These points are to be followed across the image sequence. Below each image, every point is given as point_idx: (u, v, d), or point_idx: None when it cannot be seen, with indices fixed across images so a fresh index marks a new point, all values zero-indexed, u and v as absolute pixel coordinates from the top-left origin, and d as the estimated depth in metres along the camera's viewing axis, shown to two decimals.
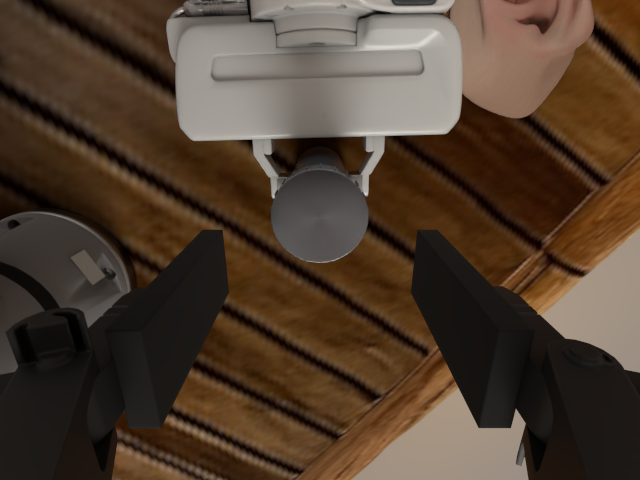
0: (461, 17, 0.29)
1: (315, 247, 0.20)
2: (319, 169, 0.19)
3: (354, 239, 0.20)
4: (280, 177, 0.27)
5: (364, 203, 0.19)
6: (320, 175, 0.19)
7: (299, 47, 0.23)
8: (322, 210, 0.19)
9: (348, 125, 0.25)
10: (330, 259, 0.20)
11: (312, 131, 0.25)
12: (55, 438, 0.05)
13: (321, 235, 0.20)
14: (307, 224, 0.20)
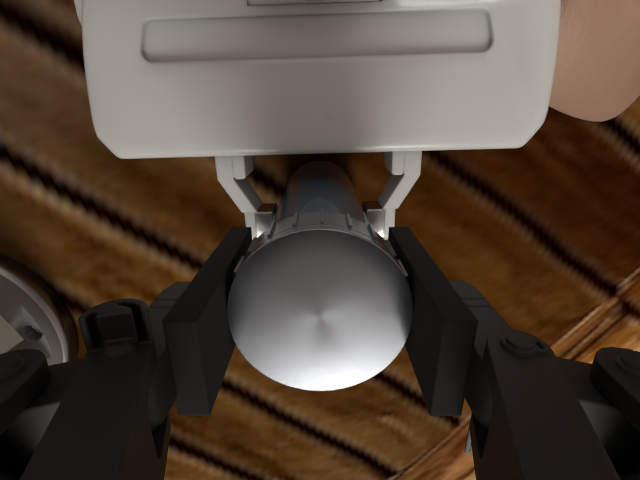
0: None
1: (312, 366, 0.11)
2: (320, 229, 0.09)
3: (385, 353, 0.11)
4: (260, 213, 0.18)
5: (407, 292, 0.10)
6: (322, 241, 0.09)
7: (286, 5, 0.14)
8: (325, 304, 0.10)
9: (366, 134, 0.15)
10: (340, 386, 0.11)
11: (308, 144, 0.16)
12: (122, 424, 0.05)
13: (323, 347, 0.10)
14: (297, 328, 0.10)
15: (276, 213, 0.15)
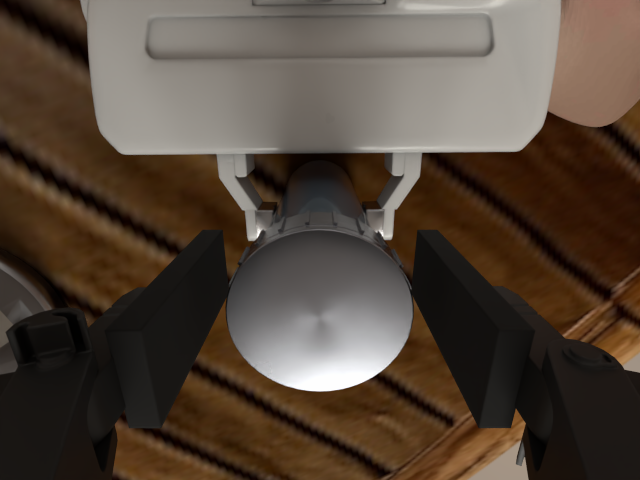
0: None
1: (374, 338, 0.10)
2: (228, 295, 0.10)
3: (383, 269, 0.10)
4: (260, 211, 0.18)
5: (314, 233, 0.09)
6: (239, 297, 0.10)
7: (291, 5, 0.14)
8: (306, 309, 0.10)
9: (367, 135, 0.16)
10: (408, 320, 0.10)
11: (310, 143, 0.16)
12: (55, 438, 0.05)
13: (354, 323, 0.10)
14: (325, 339, 0.10)
15: (277, 211, 0.15)
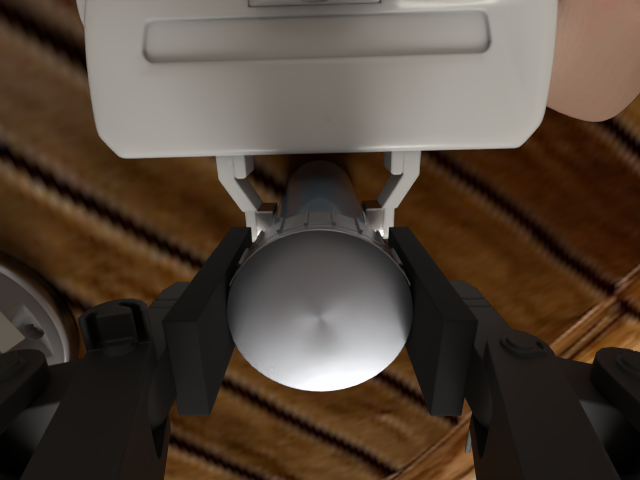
0: None
1: (375, 337, 0.10)
2: (228, 296, 0.10)
3: (383, 267, 0.10)
4: (260, 212, 0.18)
5: (313, 233, 0.09)
6: (239, 298, 0.10)
7: (286, 6, 0.14)
8: (306, 310, 0.10)
9: (365, 134, 0.16)
10: (409, 319, 0.10)
11: (308, 144, 0.16)
12: (122, 424, 0.05)
13: (354, 322, 0.10)
14: (326, 339, 0.10)
15: (276, 212, 0.15)
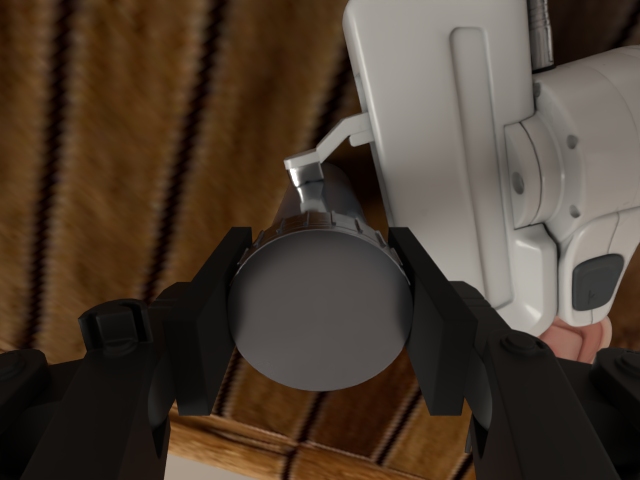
0: None
1: (375, 337, 0.10)
2: (228, 296, 0.10)
3: (383, 267, 0.10)
4: (319, 166, 0.18)
5: (313, 233, 0.09)
6: (239, 298, 0.10)
7: (506, 158, 0.17)
8: (306, 309, 0.10)
9: None
10: (409, 318, 0.10)
11: (399, 201, 0.17)
12: (122, 424, 0.05)
13: (354, 322, 0.10)
14: (326, 339, 0.10)
15: (341, 196, 0.16)
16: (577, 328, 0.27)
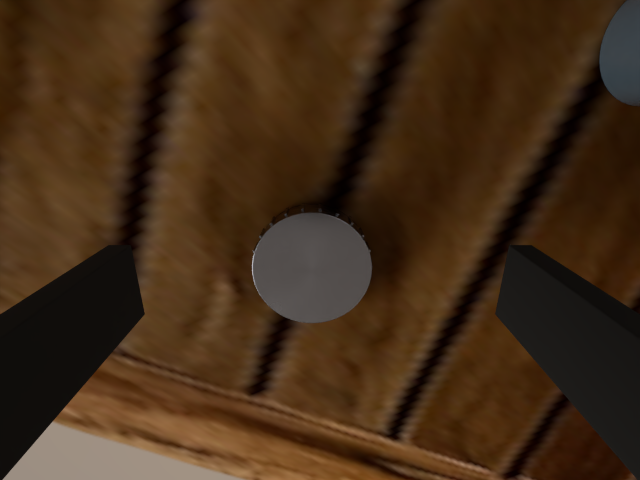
0: None
1: (347, 284, 0.16)
2: (253, 256, 0.16)
3: (351, 237, 0.15)
4: None
5: (307, 215, 0.15)
6: (260, 257, 0.16)
7: None
8: (303, 265, 0.16)
9: None
10: (369, 271, 0.16)
11: None
12: None
13: (334, 274, 0.16)
14: (316, 285, 0.16)
15: None
16: None
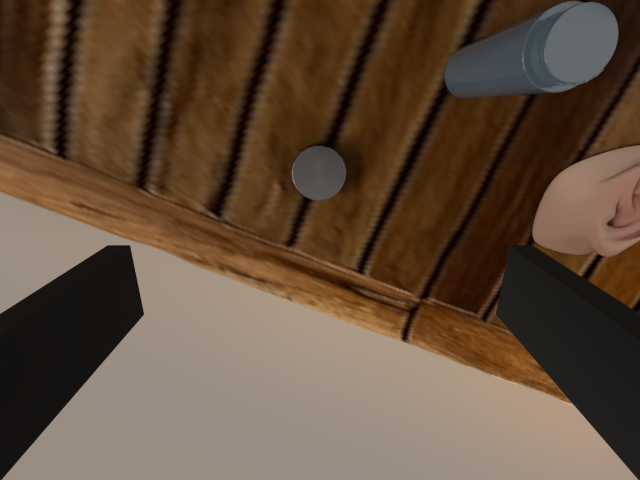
0: (612, 159, 0.36)
1: (335, 180, 0.35)
2: (293, 167, 0.35)
3: (336, 157, 0.35)
4: None
5: (317, 147, 0.34)
6: (296, 167, 0.35)
7: None
8: (315, 171, 0.35)
9: None
10: (344, 174, 0.35)
11: None
12: None
13: (329, 175, 0.35)
14: (320, 181, 0.36)
15: None
16: None
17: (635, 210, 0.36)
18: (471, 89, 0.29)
